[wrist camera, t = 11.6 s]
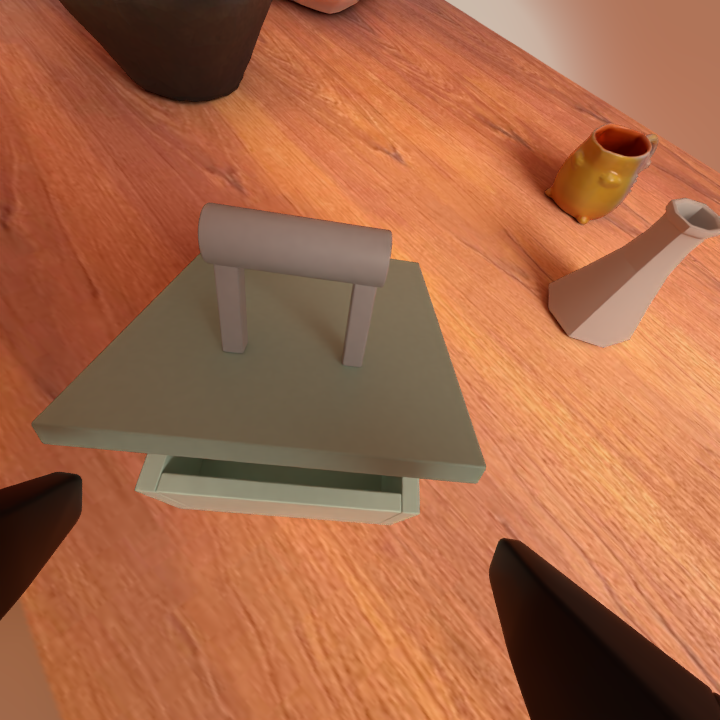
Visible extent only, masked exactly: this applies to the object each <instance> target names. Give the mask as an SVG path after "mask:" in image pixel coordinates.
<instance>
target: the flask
mask: <svg viewBox="0 0 720 720" xmlns="http://www.w3.org/2000/svg"><path fill="white" fill-rule="evenodd" d="M718 235H720V216H719V215H717V214H716V213H715V212H714V211H713V210H712V209H711V208H709V207H708V206H707V205H706V204H704V203H701V202H698V201H695V200H691V199H688V198H681V199H675V200H671V201H670V202H669V203H668V205H667V206H666V212H665V214H664V215H663V216H662V217H661V218H660V219H659V220H658V221H657V222H656V223H654V224H653V225H652V226H651V227H650V228H649V229H648V230H646V231H645V232H644V233H642V234H641V235H639V236H638V237H636V238H635V239H633V240H632V241H631V242H629V243H628V244H626V245H625V246H623V247H622V248H620V249H618V250H616V251H614V252H612V253H610V254H608V255H606V256H604V257H602V258H600V259H598V260H597V261H595V262H593V263H591V264H589V265H587V266H585V267H583V268H581V269H579V270H576V271H574V272H572V273H570V274H568V275H566V276H564V277H562V278H560V279H558V280H556V281H554V282H552V283H550V284H549V305H548V309H549V310H550V311H551V313H552V314H553V315H554V317H555V318H556V320H557V321H558V322H559V324H560V325H561V327H562V328H563V329H564V331H565V332H566V333H567V335H568V336H569V337H572V338H575V339H578V340H581V341H584V342H587V343H590V344H593V345H597V346H600V347H603V348H604V347H607V346H610V345H614V344H617V343H620V342H623V341H627V340H629V339H630V338H631V336H632V334H633V333H634V331H635V330H636V328H637V326H638V324H639V323H640V321H641V319H642V317H643V316H644V314H645V312H646V310H647V309H648V307H649V305H650V304H651V302H652V301H653V299H654V297H655V296H656V294H657V293H658V291H659V290H660V288H661V286H662V285H663V283H664V282H665V280H666V279H667V277H668V276H669V274H670V273H671V272H672V271H673V270H674V269H675V268H676V267H677V265H678V264H679V263H680V262H681V261H682V260H683V259H684V258H685V257H686V255H687V254H688V253H689V252H691V251H692V250H693V249H694V248H695V247H697V246H698V245H699V244H700V243H702V242H703V241H704V240H705V239H707V238H710V237H715V236H718Z"/></svg>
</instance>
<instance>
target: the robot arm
mask: <svg viewBox="0 0 720 720" xmlns="http://www.w3.org/2000/svg"><path fill="white" fill-rule="evenodd" d="M81 511H82V479H81V477H80V476H79V475H77V474H71V473H65V472H55V473H51V474H48V475H45V476H42V477H38V478H35V479H32V480H29V481H26V482H22V483H19V484H16V485H13V486H9V487H6V488H3V489H0V620H1V619H2V617H4V615H5V614H6V613H7V612H8V611H9V610H10V608H11V607H12V606H13V605H14V604H15V603H16V601H17V600H18V599H19V598H20V597H21V595H22V594H23V593H24V592H25V590H26V589H27V588H28V587H29V585H30V584H31V583H32V581H33V580H34V579H35V577H36V576H37V575H38V573H39V572H40V571H41V569H42V568H43V567H44V565H45V564H46V563H47V561H48V560H49V559H50V557H51V556H52V555H53V553H54V552H55V551H56V549H57V548H58V547H59V545H60V544H61V542H62V541H63V540H64V538H65V537H66V536H67V534H68V533H69V532H70V530H71V529H72V528H73V526H74V525H75V524H76V522H77V521H78V519H79V517H80V514H81ZM489 579H490V583H491V587H492V591H493V595H494V599H495V603H496V607H497V611H498V615H499V619H500V623H501V627H502V631H503V635H504V639H505V643H506V646H507V650H508V654H509V657H510V660H511V663H512V666H513V669H514V673H515V675H516V678H517V681H518V684H519V687H520V690H521V693H522V696H523V699H524V702H525V704H526V707H527V710H528V713H529V716H530V719H531V720H720V695H719V694H717V693H712V691H711V689H710V688H709V687H708V686H707V685H705V684H704V683H703V682H702V681H700V680H699V679H698V678H696V677H695V676H694V675H693V674H691V673H690V672H689V671H687V670H686V669H685V668H684V667H682V666H681V665H680V664H678V663H677V662H676V661H675V660H673V659H672V658H671V657H669V656H668V655H667V654H665V653H664V652H663V651H662V650H660V649H659V648H658V647H656V646H655V645H654V644H653V643H651V642H650V641H649V640H647V639H646V638H645V637H644V636H642V635H641V634H640V633H638V632H637V631H636V630H635V629H633V628H632V627H631V626H629V625H628V624H627V623H626V622H624V621H623V620H622V619H620V618H619V617H618V616H617V615H615V614H614V613H613V612H611V611H610V610H609V609H607V608H606V607H605V606H604V605H602V604H601V603H600V602H598V601H597V600H596V599H595V598H593V597H592V596H591V595H589V594H588V593H587V592H586V591H584V590H583V589H582V588H580V587H579V586H578V585H577V584H575V583H574V582H573V581H571V580H570V579H569V578H568V577H566V576H565V575H564V574H562V573H561V572H560V571H559V570H557V569H556V568H555V567H553V566H552V565H551V564H550V563H548V562H547V561H546V560H544V559H543V558H542V557H540V556H539V555H538V554H537V553H535V552H534V551H533V550H531V549H530V548H529V547H528V546H526V545H525V544H524V543H522V542H521V541H519V540H514V539H507V538H503V539H501V540H500V541H499V542H498V544H497V547H496V550H495V553H494V556H493V559H492V562H491V565H490V568H489Z"/></svg>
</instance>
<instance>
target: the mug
mask: <svg viewBox="0 0 720 720" xmlns="http://www.w3.org/2000/svg"><path fill="white" fill-rule="evenodd" d="M657 145H658V137H657V136H656V135H655V134H649V135H646V136H645V134H644V133H642V132H638V131H636V130H633V129H631V128H628V127H625V126H621V125H617V124H605V125H603V126H601V127H599V128H597V129H595V130H594V131H593V132H592V134H591V135H590V136H589V137H588V138H587V139H586V140H585V141H584V142H583V143H582V144H581V145H580V146H579V147H578V148H576V149H575V150H574V151H573V152H572V153H571V154H570V156H569V157H568V158H567V159H566V160H565V162H564V163H563V165H562V166H561V168H560V169H559V171H558V173H557V175H556V177H555V179H554V182H553V185H552V187H551V188H548V189H547V190H546V191H545V193H546V195H547V196H548V197H550V198H552V199H553V200H554V201H555V203H556V204H557V205H558V206H559V207H560V208H561V209H562V210H563V211H565V212H566V213H568V214H570V215H571V216H573V217H575V218H576V219H577V221H578V222H579V223H581V224H587V222H588V221H589V220H595V219H598V218H601V217H604V216H606V215H607V214H609V213H610V212H612V211H613V210H614V209H616V208H617V207H618V206H619V205H620V204H621V203H622V202H623V201H624V199H625V198H626V197H627V195H628V194H629V193H630V192H631V188H632V187H633V184H634V183H636V181H637V179H636V178H637V177H638V174H639V173H640V172H641V171H643V170H644V169H646V168H648V167H649V166H650V164H651V160H650V158H651V157H652V155H653V154H654V152H655V150H656V148H657Z"/></svg>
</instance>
